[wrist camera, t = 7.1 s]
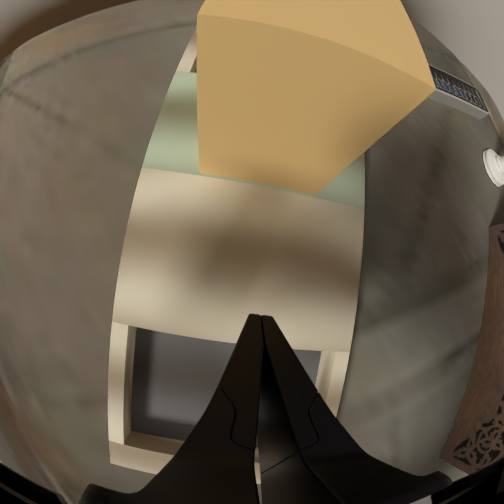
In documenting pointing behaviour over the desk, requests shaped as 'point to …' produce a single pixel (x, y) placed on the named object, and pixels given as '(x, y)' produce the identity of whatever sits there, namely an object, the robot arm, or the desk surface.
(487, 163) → the chess piece
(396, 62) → the ochre block
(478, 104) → the multiport hub
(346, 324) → the trap board
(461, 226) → the desk surface
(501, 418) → the tissue box cover
